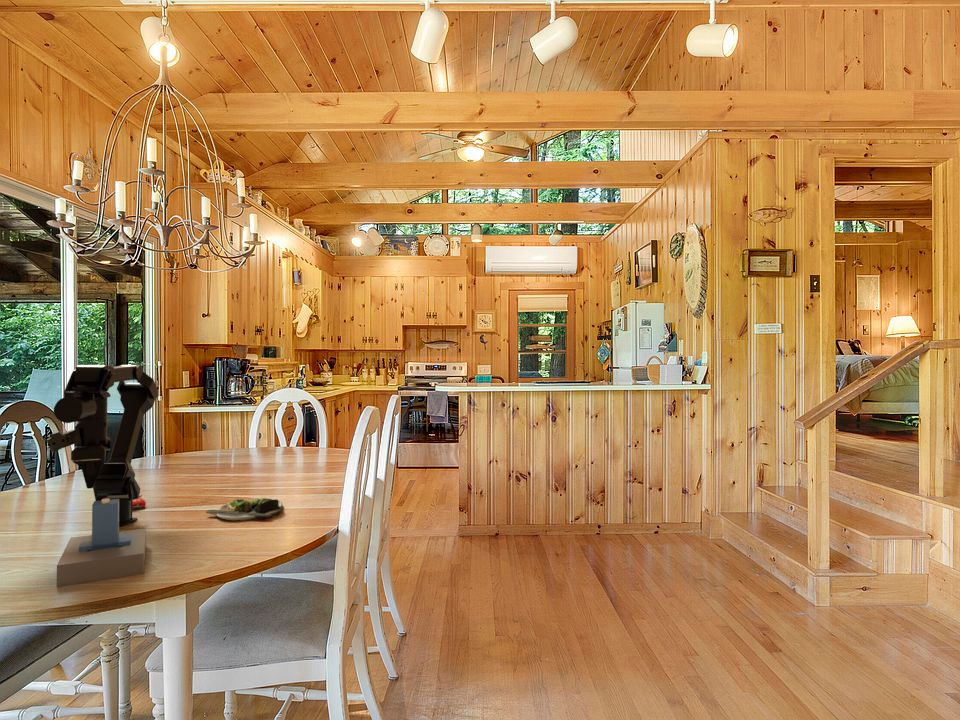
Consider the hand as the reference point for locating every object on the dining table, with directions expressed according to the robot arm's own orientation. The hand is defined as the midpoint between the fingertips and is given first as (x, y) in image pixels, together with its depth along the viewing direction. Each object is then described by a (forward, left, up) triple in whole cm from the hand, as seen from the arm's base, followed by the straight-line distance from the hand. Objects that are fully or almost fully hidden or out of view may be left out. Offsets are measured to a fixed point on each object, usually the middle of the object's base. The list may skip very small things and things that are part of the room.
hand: (92, 484), depth 132 cm
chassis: (+13, +16, -13) cm, 24 cm away
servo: (+13, +16, -13) cm, 24 cm away
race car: (-27, -14, -14) cm, 33 cm away
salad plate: (-28, +24, -14) cm, 39 cm away
